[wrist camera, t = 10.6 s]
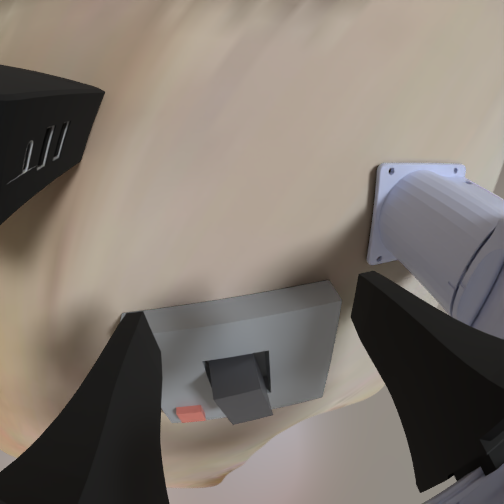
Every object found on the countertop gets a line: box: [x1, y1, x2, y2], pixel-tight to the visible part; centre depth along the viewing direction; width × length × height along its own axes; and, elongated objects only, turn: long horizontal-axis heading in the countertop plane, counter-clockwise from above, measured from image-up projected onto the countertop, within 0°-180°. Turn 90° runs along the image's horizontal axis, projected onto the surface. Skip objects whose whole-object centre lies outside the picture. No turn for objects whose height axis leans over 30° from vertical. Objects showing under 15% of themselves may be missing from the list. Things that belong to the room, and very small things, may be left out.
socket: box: [120, 280, 342, 423], centre depth 23 cm, size 16×14×3 cm
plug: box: [209, 353, 273, 425], centre depth 22 cm, size 4×5×5 cm
